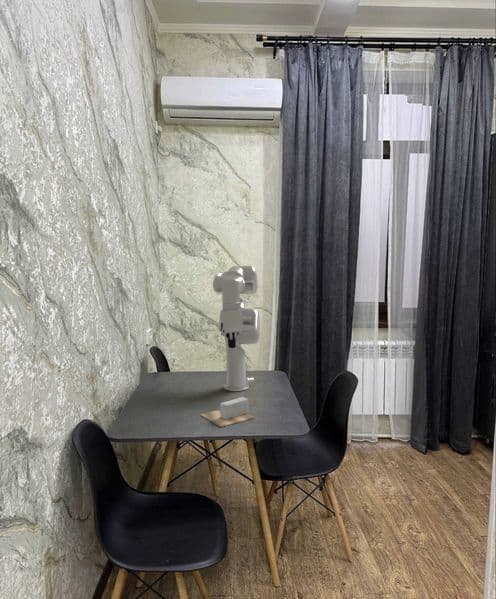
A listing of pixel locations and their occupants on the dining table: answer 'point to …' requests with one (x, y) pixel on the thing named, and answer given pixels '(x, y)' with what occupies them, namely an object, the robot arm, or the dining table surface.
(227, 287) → the robot arm
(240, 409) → the skincare box
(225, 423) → the wooden board
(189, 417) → the dining table surface
